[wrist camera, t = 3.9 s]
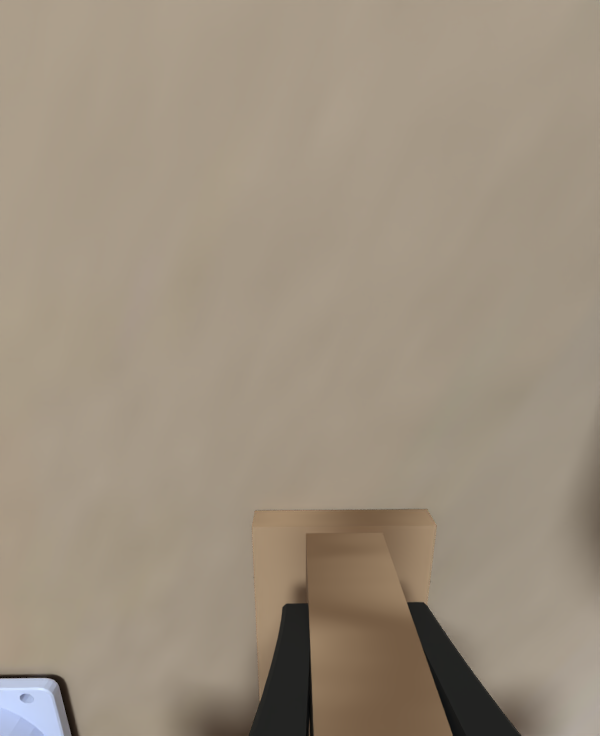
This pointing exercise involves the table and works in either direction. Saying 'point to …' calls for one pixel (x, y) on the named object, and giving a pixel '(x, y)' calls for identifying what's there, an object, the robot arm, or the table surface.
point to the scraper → (352, 614)
